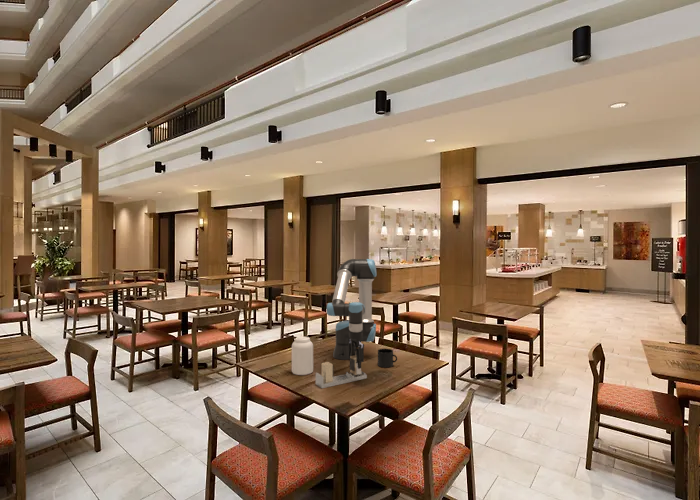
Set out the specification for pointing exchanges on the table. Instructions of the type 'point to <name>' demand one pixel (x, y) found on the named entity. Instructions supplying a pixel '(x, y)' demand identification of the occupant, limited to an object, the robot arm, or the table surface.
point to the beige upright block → (353, 364)
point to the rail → (335, 377)
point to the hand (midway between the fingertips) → (355, 372)
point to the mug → (386, 358)
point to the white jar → (302, 356)
